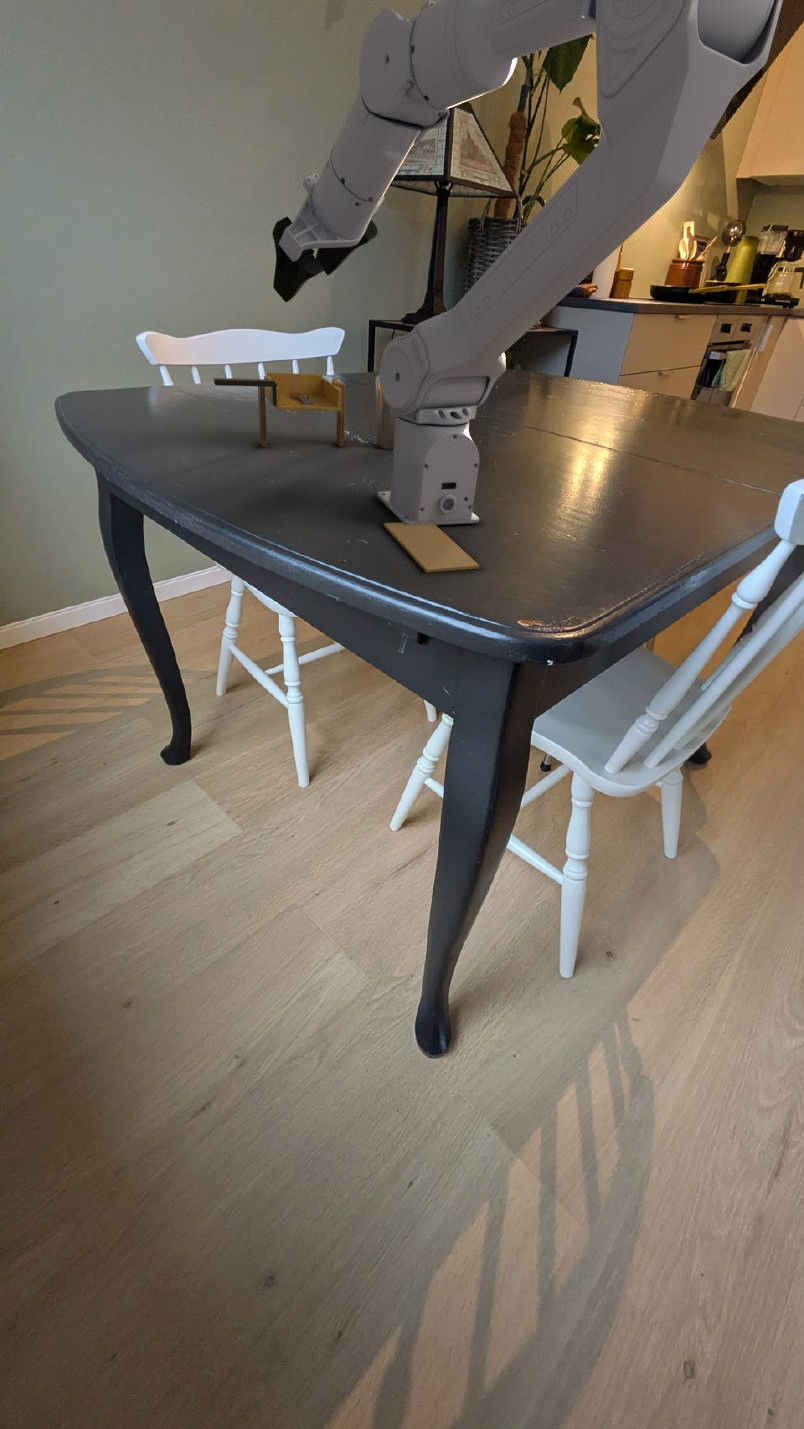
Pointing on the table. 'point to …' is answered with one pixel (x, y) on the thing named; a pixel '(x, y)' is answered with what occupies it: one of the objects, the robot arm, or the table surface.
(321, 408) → the tray
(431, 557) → the mat
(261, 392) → the stand
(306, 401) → the key
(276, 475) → the table surface
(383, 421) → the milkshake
